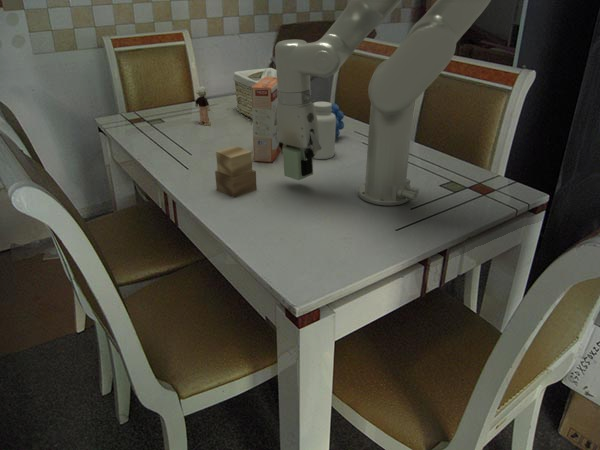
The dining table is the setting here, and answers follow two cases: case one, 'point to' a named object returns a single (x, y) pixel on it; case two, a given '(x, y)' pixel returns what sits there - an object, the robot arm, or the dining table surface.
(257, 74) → the storage basket
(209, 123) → the grandmother figurine
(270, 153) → the cracker box
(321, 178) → the dining table surface
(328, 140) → the pill bottle
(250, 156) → the tower mid
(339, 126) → the grapes
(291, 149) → the sage block
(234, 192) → the tower base
